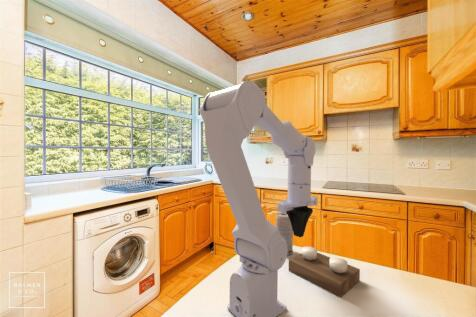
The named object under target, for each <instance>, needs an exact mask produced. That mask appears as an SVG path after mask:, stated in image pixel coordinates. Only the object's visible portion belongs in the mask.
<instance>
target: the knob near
mask: <svg viewBox="0 0 476 317" xmlns="http://www.w3.org/2000/svg"><path fill="white" fill-rule="evenodd" d="M347 264H348V260H346V259H345V258H341V257H337V256H332V257H330V259H329V268H330V269H331V270H333V271H334V272H336V273H339V274H342V273H345V272H347Z"/></svg>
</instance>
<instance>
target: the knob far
mask: <svg viewBox="0 0 476 317" xmlns="http://www.w3.org/2000/svg"><path fill="white" fill-rule="evenodd" d="M301 253H302V257H303V258H305V259H307V260H309V261H312V260H314V259H316V258H317V253H318V250H317V249H316V248H315V247H313V246H303V247H302V248H301Z"/></svg>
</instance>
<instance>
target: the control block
mask: <svg viewBox="0 0 476 317" xmlns="http://www.w3.org/2000/svg"><path fill="white" fill-rule="evenodd" d="M330 258H331V257H330V256H328V255H325V254H323V253H319V252H317V258H316V259H314V260H312V261H309V260H307V259H305V258H303V257H302V252H301V253H300V254H298V255H296V256H294V257H292V258H289V259H288V271H289V272H290V273H293V274H294V275H296V276H298V277H300V278H302V279H304V280H306V281H308V282H309V283H312V284H313V285H315V286H317V287H319V288H321V289H323V290H324V291H327V292H328V293H331V294H333V295H335V297H338V298H339V299H341V298H343V296H344V295H346V294H347V293H348V292H349V291H350V290H351V289H352V288H354V287H355V286H356V285H357V284H359V282H360V281H361V280H360V275H361V273H360V270H361V269H360V268H358V267H355V266H353V265H350V264H348V263H347V272H345V273H342V274H339V273H336V272H334V271H333V270H331V269H330V268H329V259H330Z"/></svg>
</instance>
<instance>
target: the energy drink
mask: <svg viewBox="0 0 476 317" xmlns="http://www.w3.org/2000/svg"><path fill="white" fill-rule="evenodd" d="M275 227H276V228H278V229H279V232H280V235H281V236H282V237H283V238H284V239H285V241H286V243H287V248H288V252H287V256H291V255H292V253H293V247H294V244H293V239H294V238H293V236H294V234H293V229H292V225H291V222H290V219H289V217H288V215H287V213H282V212H277V213H276V216H275Z"/></svg>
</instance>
